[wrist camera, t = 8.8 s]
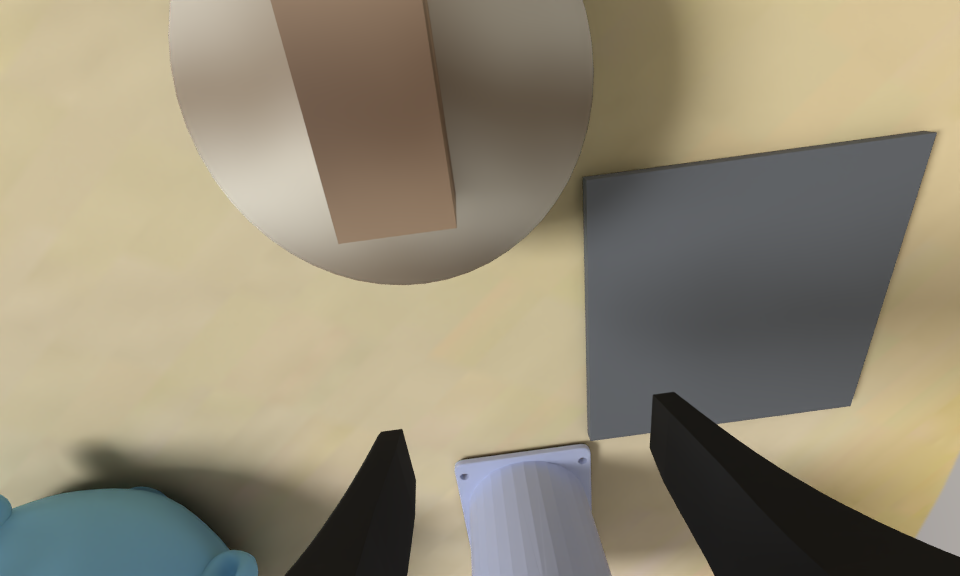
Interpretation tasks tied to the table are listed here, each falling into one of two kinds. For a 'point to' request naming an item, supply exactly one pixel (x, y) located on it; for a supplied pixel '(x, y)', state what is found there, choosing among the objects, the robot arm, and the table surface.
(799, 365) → the mat
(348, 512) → the robot arm
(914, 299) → the table surface
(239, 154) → the lid
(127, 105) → the table surface
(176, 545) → the decorative pot
